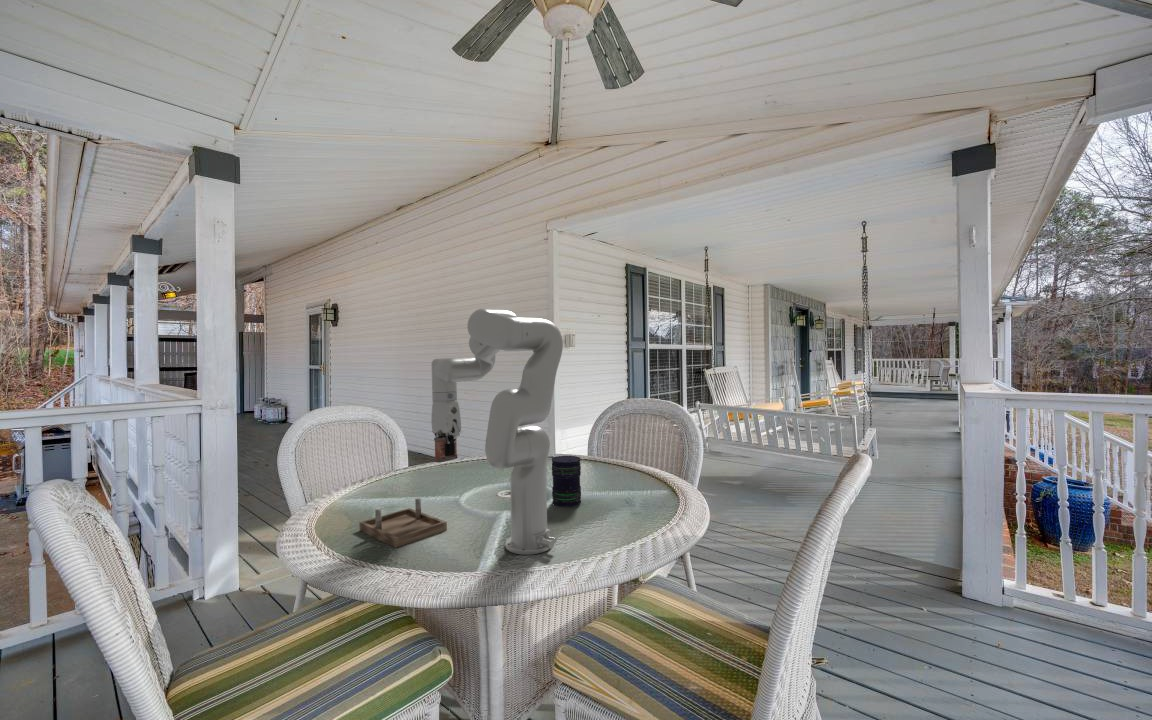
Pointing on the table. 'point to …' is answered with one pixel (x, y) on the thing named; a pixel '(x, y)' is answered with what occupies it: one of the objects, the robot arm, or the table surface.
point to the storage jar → (566, 481)
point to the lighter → (442, 448)
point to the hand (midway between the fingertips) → (446, 454)
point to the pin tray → (402, 526)
